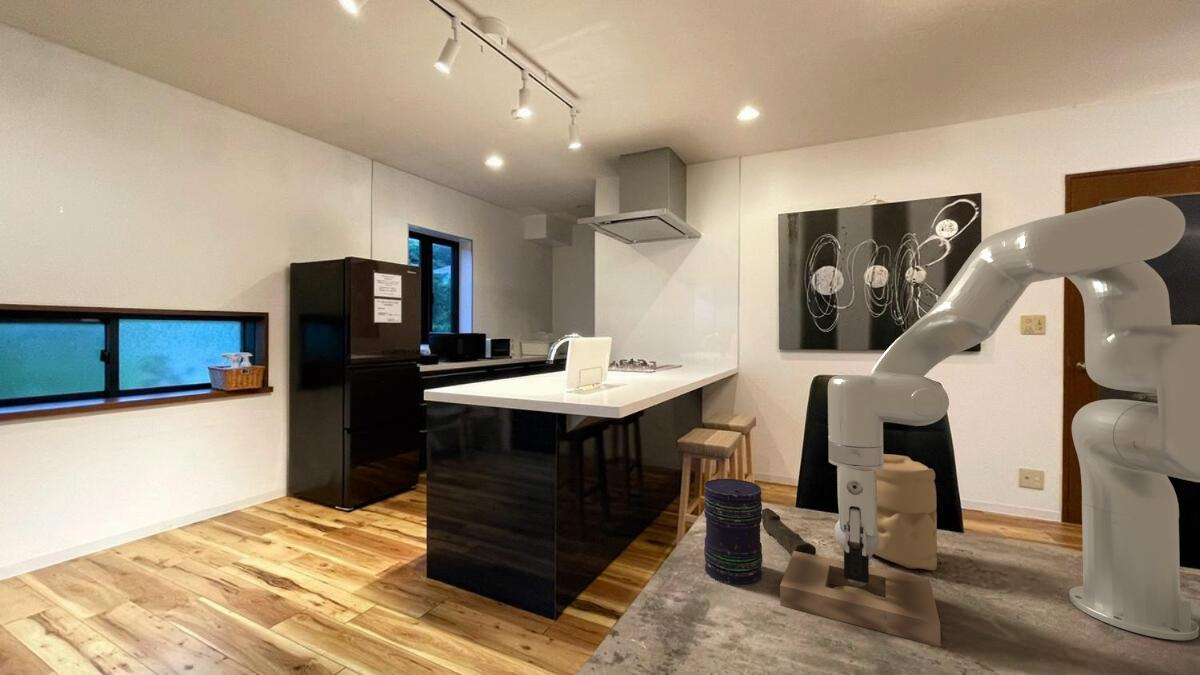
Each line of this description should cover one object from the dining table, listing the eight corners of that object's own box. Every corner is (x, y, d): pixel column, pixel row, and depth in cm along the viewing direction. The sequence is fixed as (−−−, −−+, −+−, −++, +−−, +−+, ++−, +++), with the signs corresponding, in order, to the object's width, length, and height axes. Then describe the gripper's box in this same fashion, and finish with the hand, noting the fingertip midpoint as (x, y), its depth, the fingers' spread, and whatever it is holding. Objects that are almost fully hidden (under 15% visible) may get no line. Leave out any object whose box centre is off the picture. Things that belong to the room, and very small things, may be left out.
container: (912, 544, 94) (911, 454, 94) (953, 575, 81) (952, 471, 82) (846, 542, 95) (845, 453, 95) (877, 572, 82) (876, 469, 83)
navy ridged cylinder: (699, 558, 88) (699, 478, 88) (752, 559, 87) (752, 478, 88) (710, 585, 78) (710, 495, 78) (770, 586, 77) (770, 495, 78)
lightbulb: (826, 581, 75) (825, 511, 75) (853, 573, 77) (852, 506, 77) (861, 600, 69) (860, 525, 69) (889, 591, 71) (888, 518, 72)
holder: (929, 597, 74) (929, 578, 74) (940, 647, 62) (940, 624, 62) (793, 567, 84) (793, 550, 84) (780, 604, 72) (780, 585, 72)
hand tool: (817, 566, 85) (817, 540, 85) (795, 566, 85) (795, 540, 85) (775, 526, 104) (775, 505, 104) (757, 526, 104) (757, 505, 104)
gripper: (884, 470, 64) (886, 604, 64) (882, 446, 79) (884, 555, 79) (823, 463, 68) (825, 590, 68) (832, 442, 83) (834, 545, 82)
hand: (857, 570), depth 73 cm, fingers closed on lightbulb, 5 cm apart
